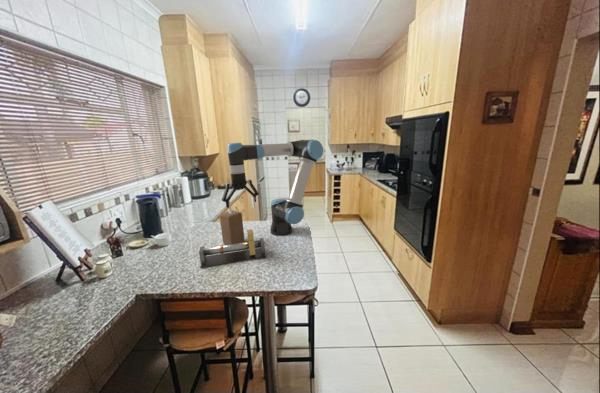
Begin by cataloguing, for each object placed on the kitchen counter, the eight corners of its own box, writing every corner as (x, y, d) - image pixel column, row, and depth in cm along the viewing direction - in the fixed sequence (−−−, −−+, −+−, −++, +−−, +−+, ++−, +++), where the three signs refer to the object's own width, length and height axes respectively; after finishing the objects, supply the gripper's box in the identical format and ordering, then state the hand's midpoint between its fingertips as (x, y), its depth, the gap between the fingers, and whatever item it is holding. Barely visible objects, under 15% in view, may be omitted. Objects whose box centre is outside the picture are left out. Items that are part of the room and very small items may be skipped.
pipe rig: (263, 248, 147) (262, 235, 145) (266, 257, 136) (264, 243, 134) (203, 257, 139) (201, 244, 137) (200, 268, 128) (198, 254, 126)
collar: (254, 248, 144) (252, 228, 141) (255, 254, 136) (253, 233, 133) (248, 249, 143) (246, 229, 140) (249, 255, 135) (247, 234, 132)
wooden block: (232, 248, 150) (228, 216, 144) (222, 244, 155) (218, 213, 150) (245, 241, 157) (242, 212, 152) (235, 238, 163) (231, 209, 158)
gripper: (256, 168, 141) (260, 204, 147) (212, 175, 129) (217, 213, 134) (262, 170, 135) (265, 207, 141) (216, 176, 122) (221, 217, 128)
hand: (242, 210), depth 137 cm, fingers open, 13 cm apart
